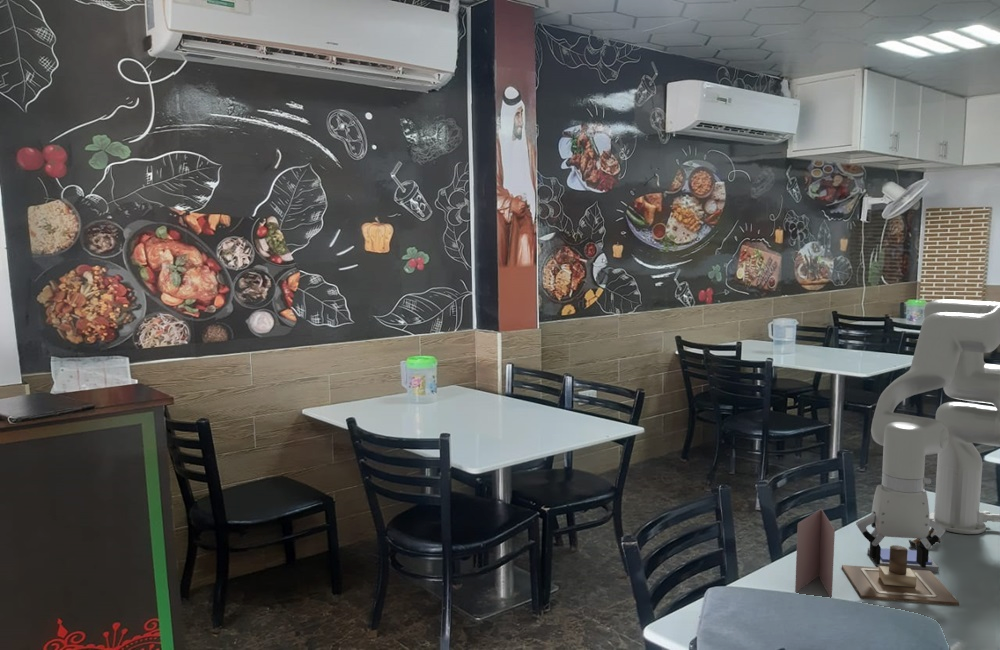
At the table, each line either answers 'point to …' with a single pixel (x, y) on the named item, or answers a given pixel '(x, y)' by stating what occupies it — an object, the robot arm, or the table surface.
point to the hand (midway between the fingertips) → (898, 563)
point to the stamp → (897, 569)
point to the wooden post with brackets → (916, 541)
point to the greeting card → (815, 551)
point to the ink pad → (908, 561)
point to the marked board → (874, 588)
